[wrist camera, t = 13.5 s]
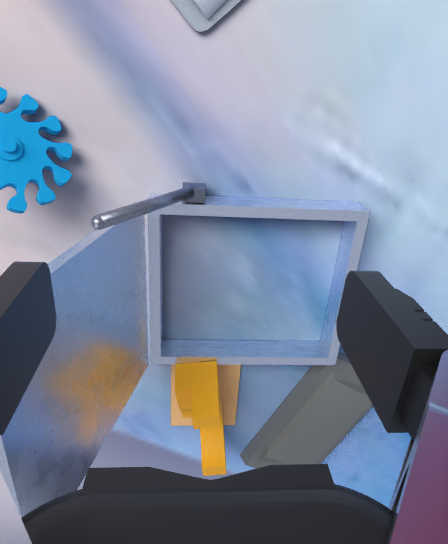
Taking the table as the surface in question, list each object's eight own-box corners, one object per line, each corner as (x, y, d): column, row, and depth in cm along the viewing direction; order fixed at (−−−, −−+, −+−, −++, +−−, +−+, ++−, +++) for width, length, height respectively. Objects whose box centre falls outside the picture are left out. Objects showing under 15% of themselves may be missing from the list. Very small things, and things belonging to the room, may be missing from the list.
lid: (-26, 330, 18) (-54, 325, 18) (33, 565, 26) (13, 560, 26) (143, 202, 35) (128, 201, 36) (148, 364, 43) (135, 362, 43)
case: (361, 187, 39) (373, 196, 37) (327, 348, 48) (335, 365, 45) (150, 178, 38) (147, 186, 35) (153, 346, 46) (151, 364, 43)
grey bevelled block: (238, 451, 55) (241, 474, 52) (325, 343, 48) (334, 362, 45) (300, 472, 58) (306, 495, 55) (390, 373, 51) (403, 393, 48)
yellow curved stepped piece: (175, 364, 44) (173, 419, 39) (216, 360, 44) (219, 416, 39) (188, 424, 51) (188, 477, 46) (223, 421, 51) (226, 473, 46)
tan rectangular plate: (240, 359, 48) (241, 361, 47) (234, 422, 52) (235, 425, 52) (171, 359, 47) (171, 361, 47) (171, 423, 51) (171, 425, 51)
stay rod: (200, 183, 36) (202, 221, 28) (199, 194, 37) (202, 235, 28) (114, 180, 36) (89, 217, 27) (115, 191, 36) (90, 231, 27)
